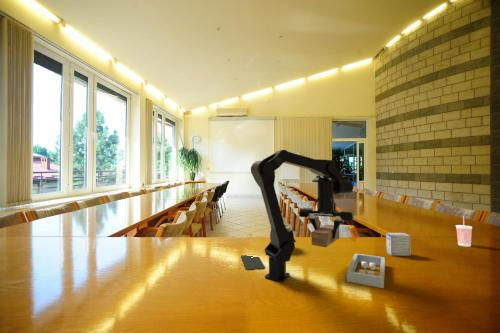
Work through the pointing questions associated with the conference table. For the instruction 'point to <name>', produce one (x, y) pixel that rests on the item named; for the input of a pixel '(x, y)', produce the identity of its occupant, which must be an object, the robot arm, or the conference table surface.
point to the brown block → (324, 236)
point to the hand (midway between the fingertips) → (326, 237)
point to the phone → (252, 262)
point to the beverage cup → (464, 234)
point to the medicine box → (398, 244)
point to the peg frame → (369, 277)
